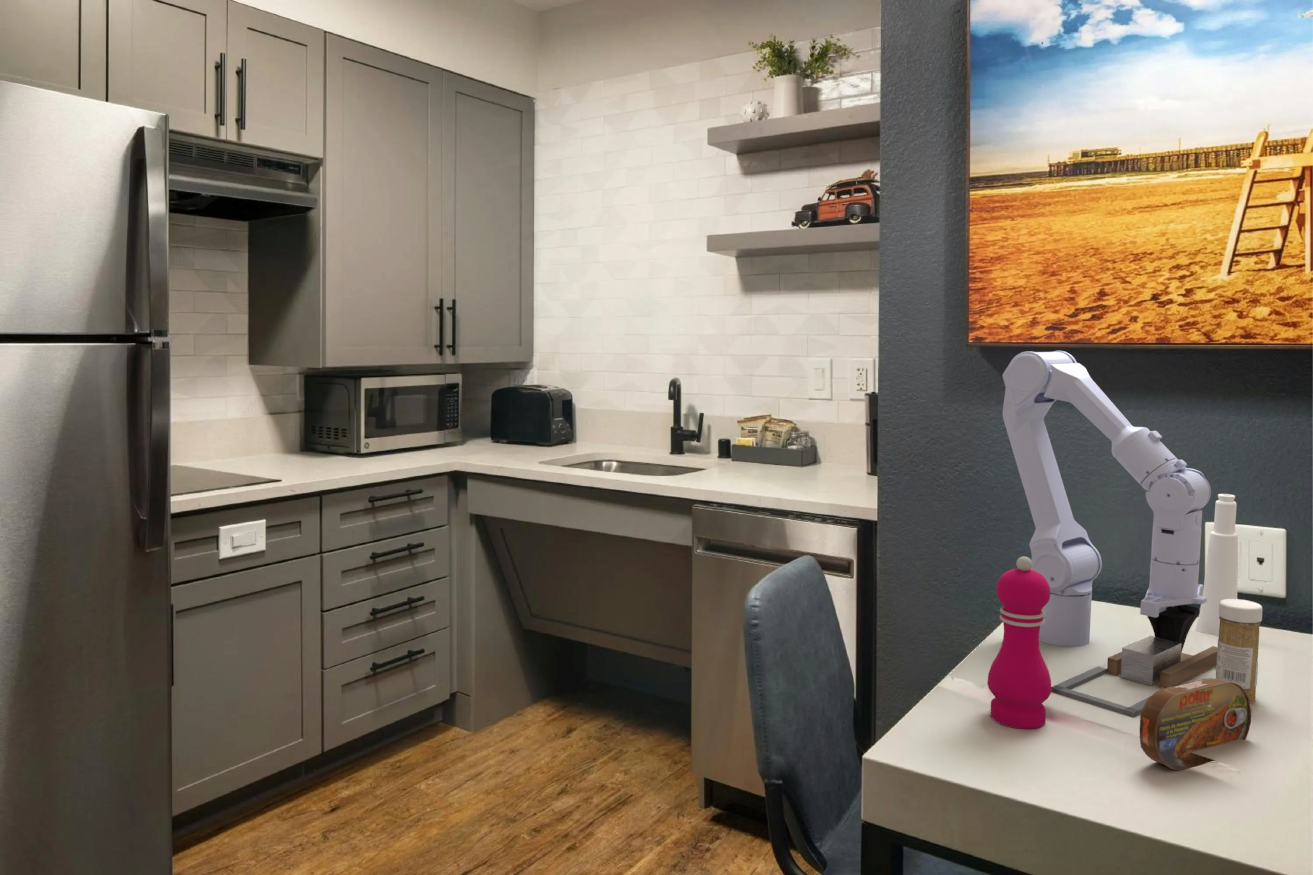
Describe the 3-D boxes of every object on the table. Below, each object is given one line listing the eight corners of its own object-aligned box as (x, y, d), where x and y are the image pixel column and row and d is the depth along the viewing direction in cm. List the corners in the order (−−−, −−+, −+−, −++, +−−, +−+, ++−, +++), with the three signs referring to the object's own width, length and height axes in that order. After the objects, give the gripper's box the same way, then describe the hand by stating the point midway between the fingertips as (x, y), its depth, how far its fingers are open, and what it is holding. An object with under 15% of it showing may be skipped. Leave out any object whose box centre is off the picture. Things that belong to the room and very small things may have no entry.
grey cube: (1135, 670, 127) (1136, 641, 127) (1148, 664, 130) (1150, 635, 129) (1166, 678, 124) (1168, 649, 124) (1179, 672, 126) (1181, 642, 126)
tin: (1156, 777, 100) (1161, 699, 99) (1131, 764, 103) (1135, 689, 102) (1252, 752, 106) (1257, 678, 105) (1225, 741, 109) (1230, 669, 108)
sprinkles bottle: (1262, 710, 118) (1270, 604, 116) (1244, 718, 115) (1251, 610, 114) (1223, 698, 121) (1230, 595, 120) (1205, 706, 119) (1212, 601, 117)
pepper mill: (1048, 711, 117) (1055, 552, 115) (1051, 734, 110) (1059, 565, 108) (986, 703, 120) (992, 547, 117) (985, 726, 113) (992, 561, 111)
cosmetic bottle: (1230, 644, 142) (1240, 499, 140) (1187, 634, 147) (1196, 494, 144) (1246, 637, 146) (1256, 495, 143) (1204, 627, 151) (1213, 490, 148)
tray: (1049, 702, 120) (1050, 687, 120) (1097, 680, 128) (1098, 666, 127) (1133, 729, 112) (1134, 712, 112) (1179, 703, 120) (1180, 688, 119)
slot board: (1106, 683, 127) (1107, 657, 126) (1160, 657, 137) (1162, 633, 136) (1169, 701, 120) (1170, 674, 120) (1221, 673, 130) (1222, 648, 130)
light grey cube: (1120, 677, 125) (1122, 647, 124) (1134, 670, 127) (1136, 641, 127) (1152, 685, 122) (1153, 655, 121) (1166, 678, 124) (1167, 649, 124)
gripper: (1183, 574, 120) (1176, 678, 121) (1229, 557, 129) (1222, 654, 130) (1126, 564, 125) (1121, 664, 127) (1174, 548, 134) (1169, 641, 136)
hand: (1169, 658), depth 129 cm, fingers closed
